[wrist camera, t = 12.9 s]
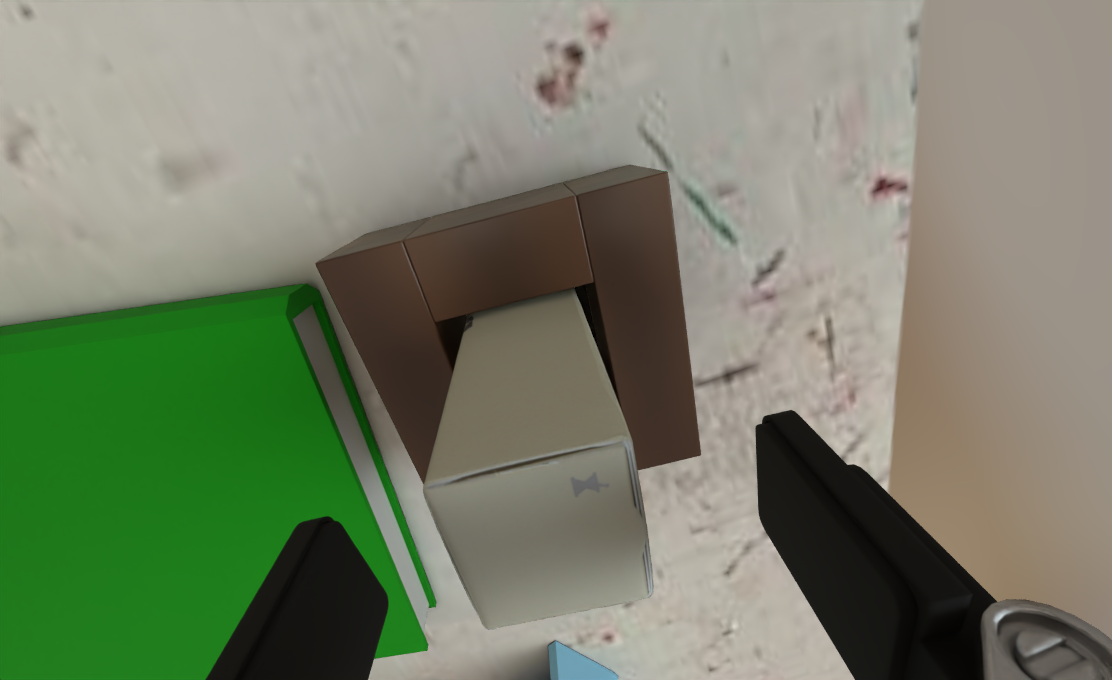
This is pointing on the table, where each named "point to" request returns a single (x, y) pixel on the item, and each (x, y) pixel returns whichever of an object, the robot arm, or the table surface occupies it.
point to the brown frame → (522, 273)
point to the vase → (575, 665)
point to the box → (537, 469)
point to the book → (179, 482)
